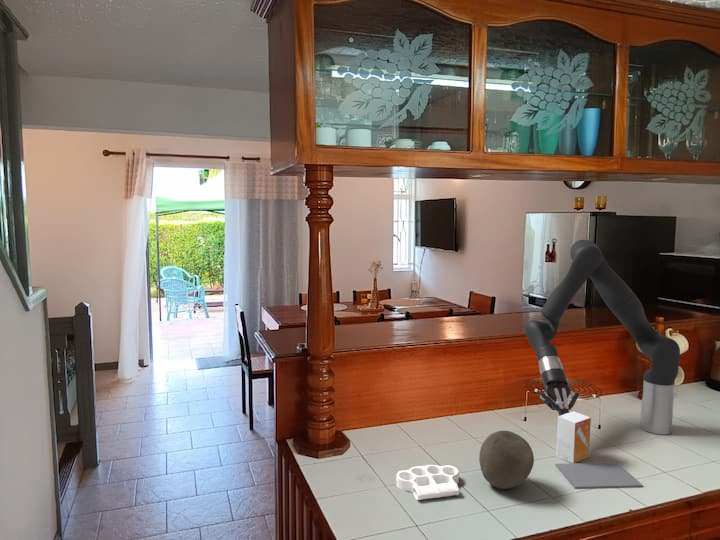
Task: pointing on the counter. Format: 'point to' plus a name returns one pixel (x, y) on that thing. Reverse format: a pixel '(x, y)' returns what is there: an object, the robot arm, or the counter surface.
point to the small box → (573, 437)
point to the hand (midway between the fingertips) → (566, 421)
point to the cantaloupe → (505, 459)
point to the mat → (597, 475)
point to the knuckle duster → (429, 481)
